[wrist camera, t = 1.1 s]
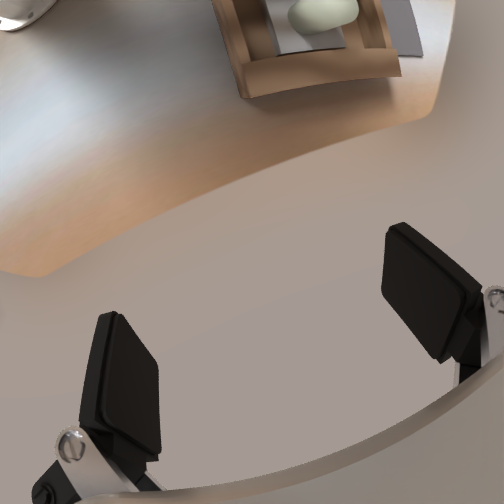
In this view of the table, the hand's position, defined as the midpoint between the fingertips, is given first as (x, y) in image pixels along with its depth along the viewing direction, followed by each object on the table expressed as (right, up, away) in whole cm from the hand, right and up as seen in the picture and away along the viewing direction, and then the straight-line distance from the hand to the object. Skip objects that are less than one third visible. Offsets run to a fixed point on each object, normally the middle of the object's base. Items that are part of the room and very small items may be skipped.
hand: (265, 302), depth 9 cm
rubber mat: (+19, +34, +15) cm, 41 cm away
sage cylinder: (+5, +27, +13) cm, 30 cm away
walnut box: (+5, +28, +15) cm, 32 cm away
